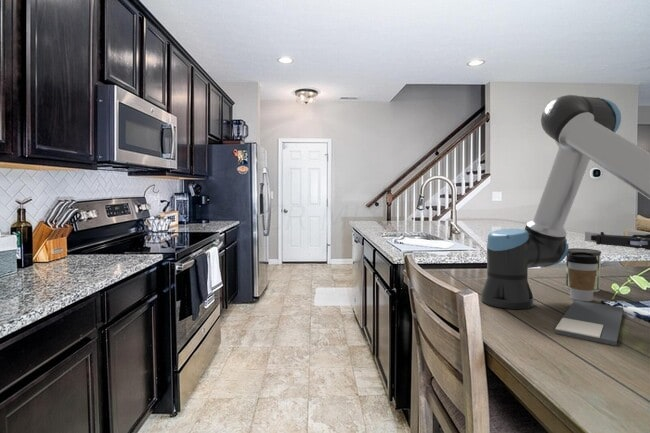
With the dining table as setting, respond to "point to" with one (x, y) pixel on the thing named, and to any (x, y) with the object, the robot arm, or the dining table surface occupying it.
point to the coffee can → (598, 254)
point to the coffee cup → (582, 275)
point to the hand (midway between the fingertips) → (607, 235)
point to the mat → (591, 322)
